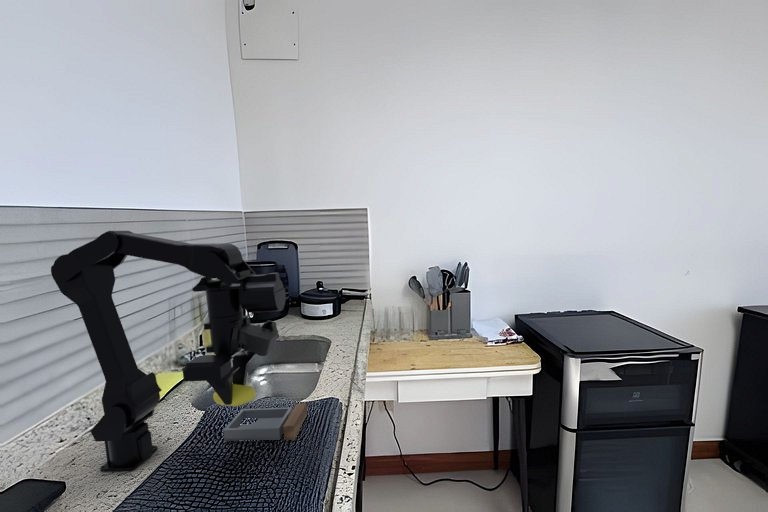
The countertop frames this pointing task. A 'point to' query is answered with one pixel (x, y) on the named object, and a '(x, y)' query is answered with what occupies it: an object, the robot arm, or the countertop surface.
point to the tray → (258, 424)
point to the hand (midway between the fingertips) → (234, 398)
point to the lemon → (238, 395)
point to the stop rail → (295, 421)
